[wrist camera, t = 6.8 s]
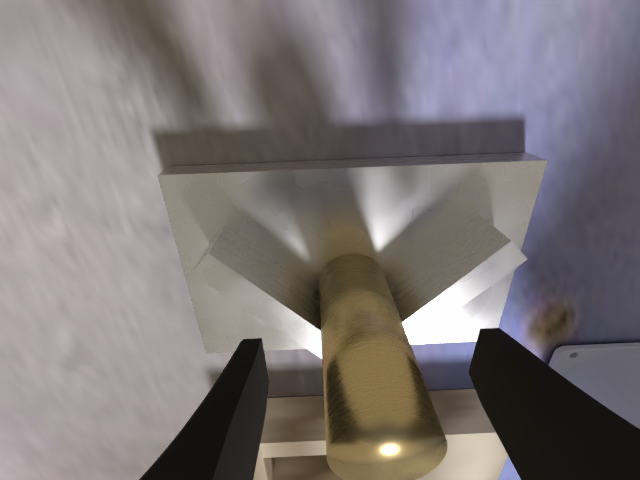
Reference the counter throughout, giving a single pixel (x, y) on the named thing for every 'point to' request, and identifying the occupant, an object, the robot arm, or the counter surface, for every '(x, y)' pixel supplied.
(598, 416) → the robot arm
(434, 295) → the v-block
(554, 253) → the counter surface
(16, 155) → the counter surface
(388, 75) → the counter surface
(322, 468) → the beam
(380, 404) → the axle
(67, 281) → the counter surface
